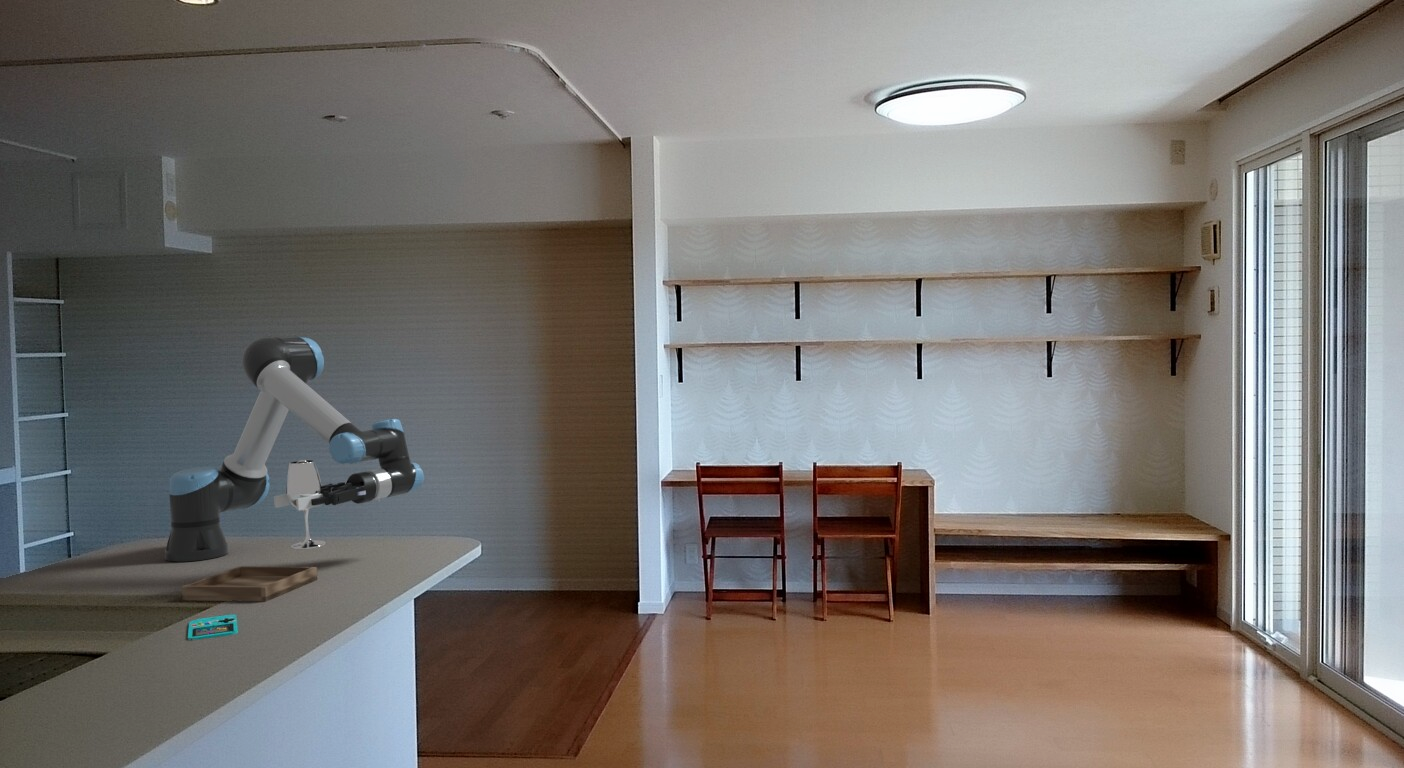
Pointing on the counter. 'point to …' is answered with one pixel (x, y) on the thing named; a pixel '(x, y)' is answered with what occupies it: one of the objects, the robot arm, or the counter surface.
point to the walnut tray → (249, 583)
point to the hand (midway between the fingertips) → (286, 503)
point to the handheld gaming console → (213, 626)
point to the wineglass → (303, 493)
